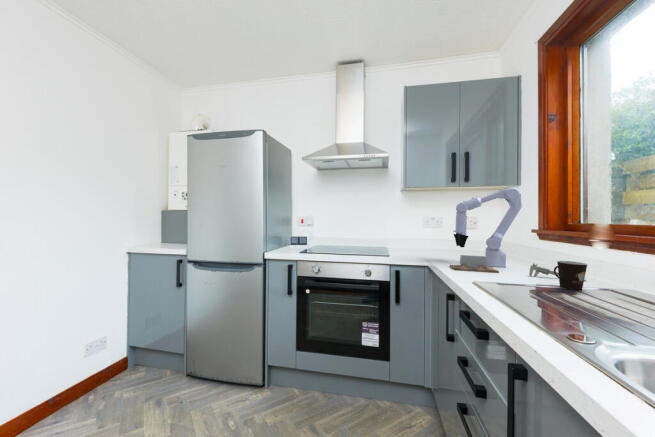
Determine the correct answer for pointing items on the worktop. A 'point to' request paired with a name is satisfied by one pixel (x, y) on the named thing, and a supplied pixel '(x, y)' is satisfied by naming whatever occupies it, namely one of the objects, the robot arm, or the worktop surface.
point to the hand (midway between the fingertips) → (460, 246)
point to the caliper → (541, 270)
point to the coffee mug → (571, 274)
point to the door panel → (473, 260)
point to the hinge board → (466, 268)
